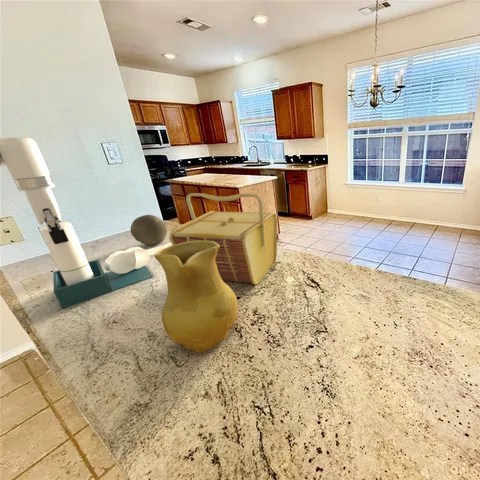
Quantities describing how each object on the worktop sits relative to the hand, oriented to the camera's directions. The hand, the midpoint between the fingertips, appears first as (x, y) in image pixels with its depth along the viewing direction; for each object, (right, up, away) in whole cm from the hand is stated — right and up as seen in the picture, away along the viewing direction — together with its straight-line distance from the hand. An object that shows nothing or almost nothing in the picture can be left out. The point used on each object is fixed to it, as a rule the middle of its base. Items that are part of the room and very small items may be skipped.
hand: (61, 238), depth 82 cm
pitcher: (+52, -25, -13) cm, 59 cm away
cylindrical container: (+1, -19, +8) cm, 21 cm away
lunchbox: (+4, -16, +14) cm, 22 cm away
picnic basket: (+49, -13, +18) cm, 54 cm away
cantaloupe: (0, -3, +47) cm, 47 cm away
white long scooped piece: (+12, -8, +31) cm, 34 cm away
